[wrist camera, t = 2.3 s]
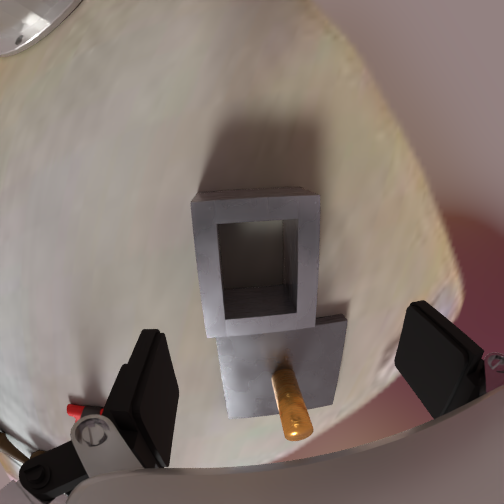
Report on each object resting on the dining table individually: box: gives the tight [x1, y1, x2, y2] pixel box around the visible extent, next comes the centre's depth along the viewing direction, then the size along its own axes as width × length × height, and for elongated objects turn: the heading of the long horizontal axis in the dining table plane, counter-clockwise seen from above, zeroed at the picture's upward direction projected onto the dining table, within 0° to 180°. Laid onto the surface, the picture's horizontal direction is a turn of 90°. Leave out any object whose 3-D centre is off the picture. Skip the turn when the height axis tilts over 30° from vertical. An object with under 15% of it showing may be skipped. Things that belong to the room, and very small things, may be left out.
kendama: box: [0, 432, 46, 464], centre depth 24 cm, size 6×10×20 cm
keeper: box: [216, 314, 347, 441], centre depth 20 cm, size 10×10×7 cm
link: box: [191, 187, 320, 338], centre depth 17 cm, size 8×7×4 cm
